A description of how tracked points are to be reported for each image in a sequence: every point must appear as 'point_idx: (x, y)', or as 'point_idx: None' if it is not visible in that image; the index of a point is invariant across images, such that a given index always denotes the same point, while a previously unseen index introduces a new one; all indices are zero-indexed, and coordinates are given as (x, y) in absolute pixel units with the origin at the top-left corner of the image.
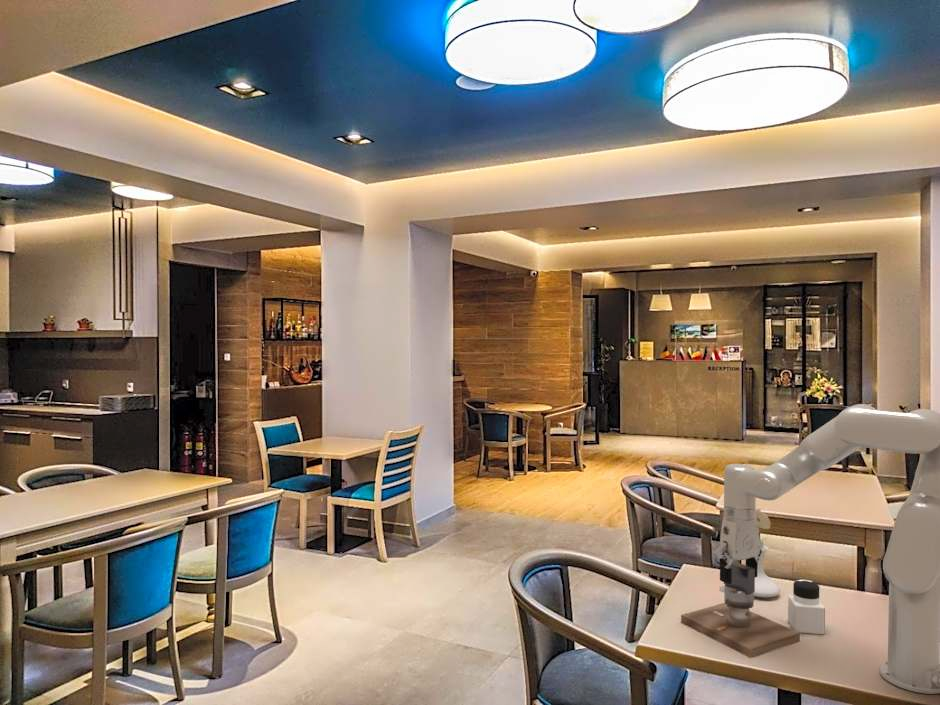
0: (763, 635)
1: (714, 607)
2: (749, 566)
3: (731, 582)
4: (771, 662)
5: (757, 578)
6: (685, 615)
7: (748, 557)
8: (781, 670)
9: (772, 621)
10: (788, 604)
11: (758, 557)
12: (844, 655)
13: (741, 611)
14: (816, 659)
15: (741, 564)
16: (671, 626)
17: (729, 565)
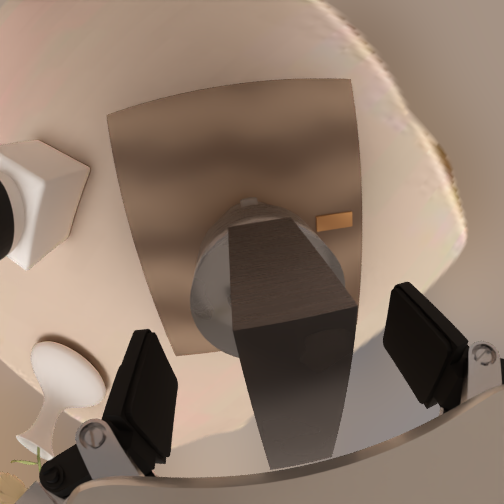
0: (238, 130)
1: None
2: (161, 409)
3: (395, 289)
4: (305, 42)
5: (64, 390)
6: None
7: (327, 477)
8: (311, 9)
9: (129, 212)
10: (44, 252)
11: (81, 447)
12: (84, 29)
13: None
14: (167, 16)
15: (274, 425)
16: (382, 300)
17: (478, 364)
